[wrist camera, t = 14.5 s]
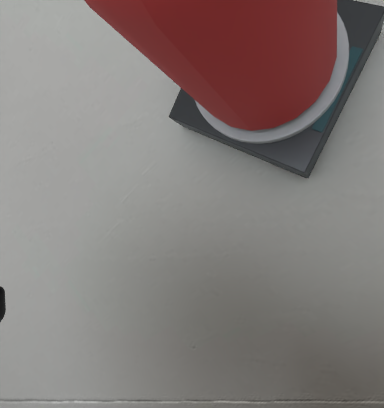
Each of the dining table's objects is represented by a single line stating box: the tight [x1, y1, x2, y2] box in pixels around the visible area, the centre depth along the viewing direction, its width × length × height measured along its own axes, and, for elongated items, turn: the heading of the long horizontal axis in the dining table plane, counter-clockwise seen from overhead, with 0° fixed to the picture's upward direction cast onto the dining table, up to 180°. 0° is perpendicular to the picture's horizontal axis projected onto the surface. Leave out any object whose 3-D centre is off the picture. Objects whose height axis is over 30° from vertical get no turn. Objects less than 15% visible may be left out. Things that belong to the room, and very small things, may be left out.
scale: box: [169, 0, 384, 178], centre depth 18 cm, size 8×8×2 cm
